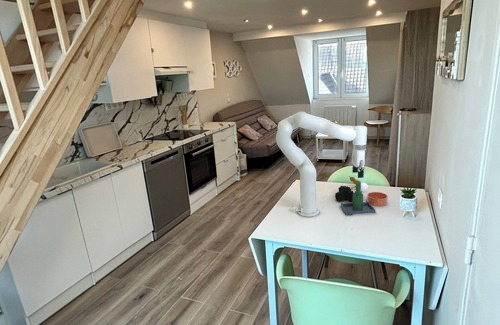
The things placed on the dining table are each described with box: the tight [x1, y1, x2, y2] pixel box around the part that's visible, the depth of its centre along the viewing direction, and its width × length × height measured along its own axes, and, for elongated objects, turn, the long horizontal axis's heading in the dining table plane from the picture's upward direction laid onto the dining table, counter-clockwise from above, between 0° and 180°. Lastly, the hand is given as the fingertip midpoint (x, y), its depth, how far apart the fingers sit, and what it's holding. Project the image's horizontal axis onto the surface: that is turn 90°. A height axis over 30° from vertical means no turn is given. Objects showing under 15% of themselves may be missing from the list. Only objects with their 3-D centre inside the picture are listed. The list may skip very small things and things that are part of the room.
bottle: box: [352, 181, 364, 211], centre depth 188 cm, size 6×6×18 cm
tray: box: [340, 201, 376, 216], centre depth 190 cm, size 17×12×2 cm
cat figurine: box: [348, 174, 369, 193], centre depth 222 cm, size 13×12×18 cm
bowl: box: [366, 191, 389, 207], centre depth 197 cm, size 12×12×6 cm
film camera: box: [334, 185, 355, 203], centre depth 205 cm, size 15×10×9 cm, turn 16°
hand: (357, 175), depth 184 cm, fingers open, 9 cm apart
